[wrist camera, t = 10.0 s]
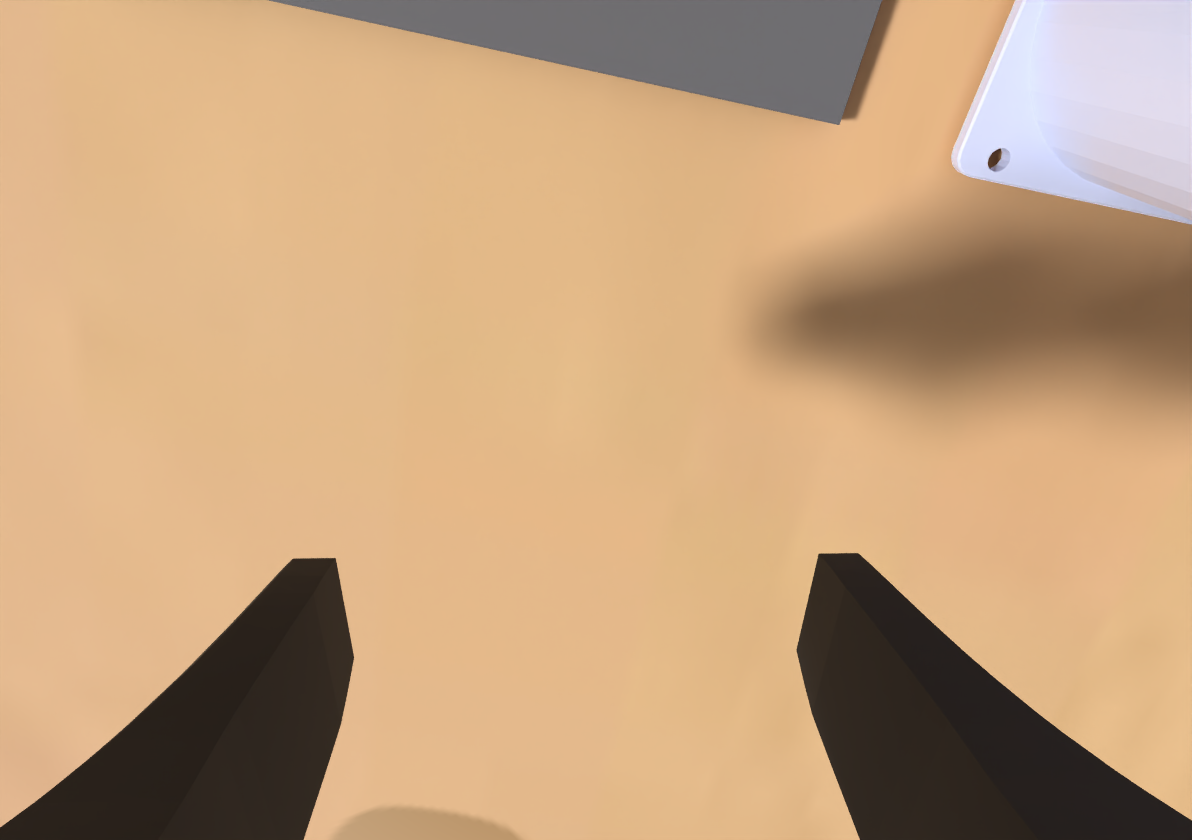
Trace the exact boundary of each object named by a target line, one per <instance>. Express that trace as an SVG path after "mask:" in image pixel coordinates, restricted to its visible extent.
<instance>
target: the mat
mask: <svg viewBox="0 0 1192 840" xmlns="http://www.w3.org/2000/svg"><path fill="white" fill-rule="evenodd" d="M269 1H274V2H279V3H283V4H288V5H292V6H297V7H301V8H306V9H311V10H315V11H320V12H324V13H329V14H333V15H338V16H343V17H347V18H352V19H356V20H361V21H366V22H370V23H375V24H379V25H384V26H388V27H393V28H398V29H402V30H407V31H411V32H416V33H420V34H425V35H430V36H434V37H439V38H443V39H448V40H452V41H457V42H462V43H466V44H471V45H475V46H480V47H484V48H489V49H494V50H498V51H503V52H507V53H512V54H516V55H521V56H526V57H530V58H535V59H539V60H544V61H548V62H553V63H558V64H562V65H567V66H571V67H576V68H580V69H585V70H590V71H594V72H599V73H603V74H608V75H613V76H617V77H622V78H626V79H631V80H635V81H640V82H645V83H649V84H654V85H658V86H663V87H667V88H672V89H677V90H681V91H686V92H690V93H695V94H699V95H704V96H709V97H713V98H718V99H722V100H727V101H731V102H736V103H741V104H745V105H750V106H754V107H759V108H763V109H768V110H773V111H777V112H782V113H786V114H791V115H795V116H800V117H805V118H809V119H814V120H818V121H823V122H827V123H832V124H837V125H839V124H840V121H841V119H842V116H843V113H844V110H845V107H846V104H847V101H848V98H849V95H850V92H851V89H852V86H853V83H854V81H855V78H856V75H857V72H858V69H859V66H860V63H861V60H862V57H863V54H864V51H865V48H866V45H867V43H868V40H869V37H870V34H871V31H872V28H873V25H874V22H875V19H876V16H877V13H878V10H879V8H880V5H881V2H882V0H269Z"/></svg>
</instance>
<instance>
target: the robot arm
mask: <svg viewBox="0 0 1192 840" xmlns="http://www.w3.org/2000/svg"><path fill="white" fill-rule="evenodd" d="M1000 148H1001V151H1002V156H1001V159H1000V161H999V162H998V163H997V164H996V165H995V166H993V167H991V168H989V167H988V159H989V157H990V155H991V154H992V152H994V151H995V150H997V149H1000ZM951 159H952V165H953V166H954V168H955V169H956V171H958V172H960V173H962V174H964V175H966V176H968V177H972V178H976V179H981V180H986V181H990V182H995V183H1000V184H1004V185H1009V186H1014V187H1018V188H1023V189H1028V190H1032V191H1037V192H1042V193H1047V194H1051V195H1056V196H1061V197H1065V198H1070V199H1075V200H1079V201H1084V202H1089V203H1093V204H1098V205H1103V206H1107V207H1112V208H1117V209H1121V210H1126V211H1131V212H1135V213H1140V214H1145V215H1149V216H1154V217H1159V218H1163V219H1168V220H1173V221H1178V222H1182V223H1187V224H1192V0H1015V2H1014V5H1013V7H1012V10H1011V12H1010V14H1009V17H1008V19H1007V21H1006V24H1005V26H1004V29H1003V31H1002V33H1001V36H1000V38H999V41H998V43H997V45H996V48H995V50H994V52H993V55H992V57H991V60H990V62H989V64H988V67H987V69H986V72H985V74H984V76H983V79H982V81H981V84H980V86H979V88H978V91H977V93H976V95H975V98H974V100H973V103H972V105H971V107H970V110H969V112H968V115H967V117H966V119H965V122H964V124H963V126H962V129H961V131H960V134H959V136H958V138H957V141H956V143H955V146H954V148H953V152H952V156H951ZM797 654H798V658H799V663H800V667H801V671H802V675H803V680H804V684H805V688H806V692H807V696H808V700H809V703H810V707H811V711H812V715H813V717H814V720H815V723H816V726H817V728H818V731H819V734H820V736H821V739H822V742H823V744H824V747H825V750H826V752H827V755H828V758H829V760H830V763H831V766H832V768H833V771H834V773H835V776H836V779H837V781H838V784H839V786H840V789H841V791H842V794H843V797H844V799H845V802H846V804H847V807H848V810H849V812H850V815H851V817H852V820H853V823H854V825H855V828H856V830H857V833H858V836H859V838H860V840H1192V820H1190V819H1188V818H1187V817H1185V816H1184V815H1182V814H1181V813H1179V812H1178V811H1176V810H1174V809H1173V808H1171V807H1170V806H1168V805H1167V804H1165V803H1163V802H1162V801H1160V800H1159V799H1157V798H1156V797H1154V796H1153V795H1151V794H1149V793H1148V792H1146V791H1145V790H1143V789H1142V788H1140V787H1139V786H1137V785H1136V784H1134V783H1133V782H1131V781H1130V780H1129V779H1127V778H1126V777H1124V776H1123V775H1121V774H1120V773H1118V772H1117V771H1115V770H1114V769H1112V768H1111V767H1110V766H1108V765H1107V764H1105V763H1104V762H1103V761H1101V760H1100V759H1099V758H1097V757H1096V756H1094V755H1093V754H1092V753H1090V752H1089V751H1088V750H1086V749H1085V748H1083V747H1082V746H1081V745H1079V744H1078V743H1076V742H1075V741H1074V740H1072V739H1071V738H1070V737H1068V736H1067V735H1065V734H1064V733H1063V732H1061V731H1060V730H1059V729H1057V728H1056V727H1055V726H1054V725H1052V724H1051V723H1050V722H1048V721H1047V720H1046V719H1044V718H1043V717H1042V716H1041V715H1039V714H1038V713H1037V712H1035V711H1034V710H1033V709H1032V708H1031V707H1029V706H1028V705H1027V704H1026V703H1024V702H1023V701H1022V700H1021V699H1020V698H1018V697H1017V696H1016V695H1015V694H1013V693H1012V692H1011V691H1010V690H1009V689H1007V688H1006V687H1005V686H1004V685H1002V684H1001V683H1000V682H999V681H998V680H996V679H995V678H994V677H993V676H992V675H990V674H989V673H988V672H987V671H986V670H985V669H983V668H982V667H981V666H980V665H979V664H978V663H977V662H975V661H974V660H973V659H972V658H971V657H970V656H969V655H967V654H966V653H965V652H964V651H963V650H962V649H961V648H960V647H958V646H957V645H956V644H955V643H954V642H953V641H952V640H951V639H950V638H948V637H947V636H946V635H945V634H944V633H943V632H942V631H941V630H940V629H939V628H938V627H936V626H935V625H934V624H933V623H932V622H931V621H930V620H929V619H928V618H927V617H926V616H925V615H924V614H922V613H921V612H920V611H919V610H918V609H917V608H916V607H915V606H914V605H913V604H912V603H911V602H910V601H909V600H908V599H907V598H905V597H904V596H903V595H902V594H901V593H900V592H899V591H898V590H897V589H896V588H895V587H894V586H893V585H892V584H891V583H890V582H889V581H888V580H887V579H885V578H884V577H883V576H882V575H881V574H880V573H879V572H878V571H877V570H876V569H875V568H874V567H873V566H872V565H871V564H870V563H868V562H867V561H866V560H865V559H864V558H863V557H862V556H861V555H860V554H858V553H838V554H819V555H818V559H817V564H816V568H815V572H814V577H813V581H812V585H811V590H810V594H809V598H808V603H807V607H806V611H805V616H804V620H803V624H802V629H801V633H800V637H799V642H798V646H797ZM353 660H354V655H353V649H352V644H351V639H350V633H349V628H348V622H347V617H346V612H345V606H344V601H343V595H342V590H341V585H340V579H339V574H338V568H337V563H336V558H310V559H292V560H291V561H290V562H289V563H288V564H287V565H286V566H285V567H284V568H283V569H282V570H281V571H280V572H279V573H278V574H277V575H276V577H275V578H274V579H273V580H272V581H271V582H270V583H269V584H268V585H267V586H266V587H265V588H264V589H263V591H262V592H261V593H260V594H259V595H258V596H257V597H256V598H255V599H254V600H253V601H252V602H251V603H250V605H249V606H248V607H247V608H246V609H245V610H244V611H243V612H242V613H241V614H240V615H239V616H238V617H237V618H236V619H235V620H234V622H233V623H232V624H231V625H230V626H229V627H228V628H227V629H226V630H225V631H224V632H223V633H222V634H221V635H220V636H219V637H218V638H217V639H216V640H215V641H214V642H213V643H212V644H211V645H210V646H209V647H208V648H207V649H206V650H205V651H204V652H203V653H202V654H201V655H200V656H199V657H198V658H197V660H196V661H195V662H194V663H193V664H192V665H191V666H190V667H189V668H188V669H187V670H186V671H185V672H184V673H183V674H182V675H181V676H180V677H178V678H177V679H176V680H175V681H174V682H173V683H172V684H171V685H170V686H169V687H168V688H167V689H166V690H165V691H164V692H163V693H161V694H160V695H159V696H158V697H157V698H156V699H155V700H154V701H153V702H152V703H151V704H150V705H149V706H148V707H147V708H145V709H144V710H143V711H142V712H141V713H140V714H139V715H138V716H137V717H136V718H135V719H134V720H133V721H132V722H130V723H129V724H128V725H127V726H126V727H125V728H124V729H123V730H122V731H120V732H119V733H118V734H117V735H116V736H115V737H114V738H112V739H111V740H110V741H109V742H108V743H107V744H106V745H104V746H103V747H102V748H101V749H100V750H99V751H97V752H96V753H95V754H94V755H93V756H92V757H90V758H89V759H88V760H87V761H86V762H84V763H83V764H82V765H81V766H80V767H78V768H77V769H76V770H75V771H73V772H72V773H71V774H70V775H68V776H67V777H66V778H65V779H64V780H62V781H61V782H60V783H59V784H57V785H56V786H55V787H54V788H52V789H51V790H50V791H49V792H47V793H46V794H45V795H44V796H42V797H41V798H40V799H38V800H37V801H36V802H35V803H33V804H32V805H30V806H29V807H28V808H26V809H25V810H24V811H22V812H21V813H20V814H18V815H17V816H15V817H14V818H13V819H11V820H10V821H9V822H7V823H6V824H4V825H3V826H2V827H0V840H303V839H304V836H305V833H306V830H307V827H308V824H309V821H310V818H311V815H312V812H313V809H314V806H315V803H316V800H317V797H318V794H319V791H320V788H321V785H322V782H323V779H324V775H325V772H326V769H327V766H328V763H329V760H330V757H331V754H332V751H333V747H334V744H335V741H336V738H337V735H338V732H339V728H340V725H341V721H342V716H343V711H344V707H345V702H346V697H347V692H348V687H349V681H350V676H351V671H352V665H353Z"/></svg>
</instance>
